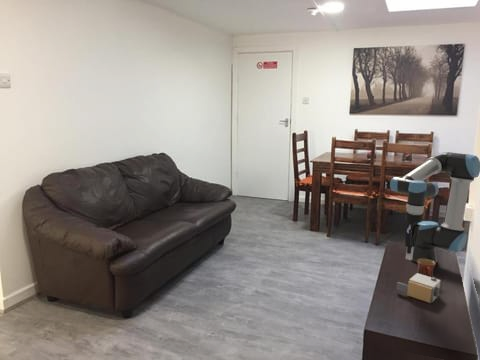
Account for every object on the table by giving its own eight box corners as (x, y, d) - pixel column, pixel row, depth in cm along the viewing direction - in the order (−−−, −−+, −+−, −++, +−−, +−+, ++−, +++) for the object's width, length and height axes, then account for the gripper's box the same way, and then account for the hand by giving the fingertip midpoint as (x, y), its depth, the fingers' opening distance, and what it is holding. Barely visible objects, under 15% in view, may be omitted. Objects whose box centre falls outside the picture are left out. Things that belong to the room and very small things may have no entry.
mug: (413, 275, 213) (415, 257, 211) (430, 277, 211) (433, 259, 209) (418, 285, 201) (420, 267, 199) (437, 287, 200) (439, 268, 197)
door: (397, 290, 195) (398, 276, 193) (432, 303, 184) (434, 288, 182) (396, 291, 194) (397, 277, 192) (431, 304, 183) (433, 289, 181)
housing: (415, 287, 199) (417, 271, 197) (441, 296, 191) (443, 279, 189) (407, 294, 192) (409, 277, 190) (434, 303, 183) (436, 286, 182)
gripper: (411, 208, 196) (406, 253, 201) (401, 213, 187) (395, 260, 192) (427, 211, 191) (421, 257, 196) (417, 217, 182) (411, 265, 187)
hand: (408, 259), depth 194 cm, fingers closed
